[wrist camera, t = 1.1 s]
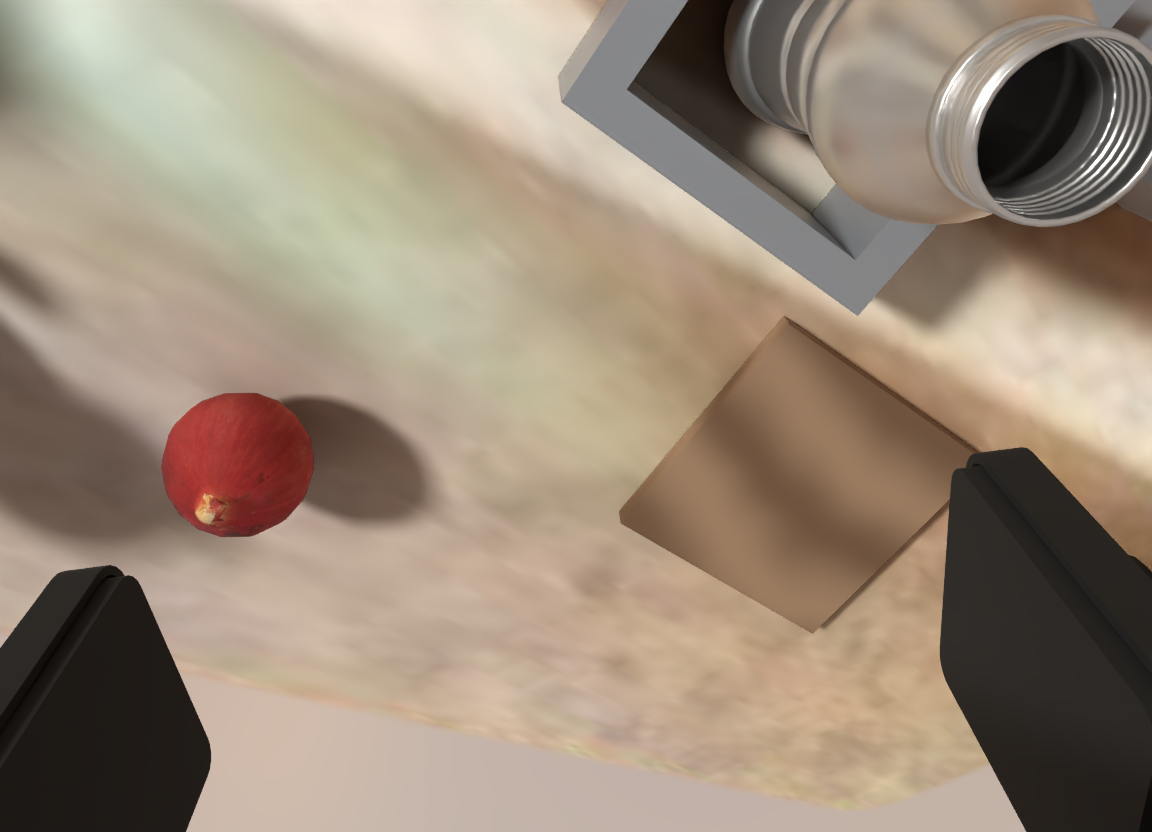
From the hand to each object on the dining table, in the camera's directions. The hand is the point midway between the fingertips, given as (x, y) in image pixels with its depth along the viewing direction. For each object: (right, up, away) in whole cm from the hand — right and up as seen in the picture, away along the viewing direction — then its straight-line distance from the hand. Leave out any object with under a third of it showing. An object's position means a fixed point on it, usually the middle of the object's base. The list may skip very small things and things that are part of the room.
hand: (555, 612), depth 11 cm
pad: (+11, -1, +33) cm, 35 cm away
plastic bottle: (+9, +17, +24) cm, 31 cm away
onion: (-14, +2, +31) cm, 34 cm away
